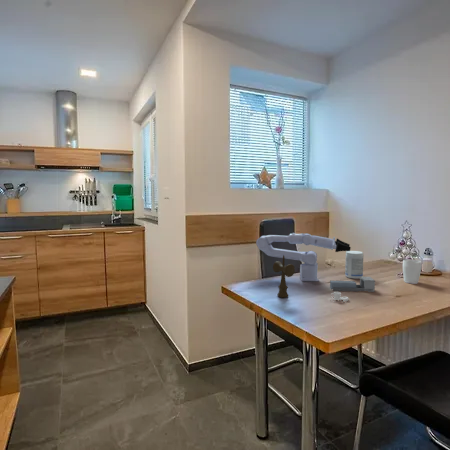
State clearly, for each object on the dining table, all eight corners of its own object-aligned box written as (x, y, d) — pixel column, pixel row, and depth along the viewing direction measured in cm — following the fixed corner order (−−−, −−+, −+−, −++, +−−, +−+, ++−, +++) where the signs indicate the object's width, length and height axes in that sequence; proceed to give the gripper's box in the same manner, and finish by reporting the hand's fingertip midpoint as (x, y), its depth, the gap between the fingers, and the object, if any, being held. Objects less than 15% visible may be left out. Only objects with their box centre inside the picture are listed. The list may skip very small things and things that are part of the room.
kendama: (285, 300, 144) (286, 257, 142) (271, 295, 152) (271, 254, 150) (294, 298, 147) (295, 256, 145) (280, 292, 155) (281, 252, 153)
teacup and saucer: (349, 300, 146) (350, 291, 145) (346, 305, 139) (346, 296, 139) (330, 297, 150) (330, 288, 150) (326, 302, 143) (326, 293, 143)
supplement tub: (365, 277, 184) (366, 252, 182) (358, 280, 177) (359, 254, 175) (349, 273, 191) (350, 249, 189) (341, 276, 184) (342, 252, 182)
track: (333, 290, 158) (333, 279, 158) (330, 286, 165) (330, 275, 165) (374, 291, 156) (375, 280, 156) (369, 287, 163) (369, 276, 163)
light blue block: (331, 290, 160) (331, 282, 160) (329, 287, 164) (330, 280, 163) (356, 290, 159) (356, 283, 158) (353, 288, 162) (354, 281, 162)
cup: (415, 280, 177) (416, 259, 176) (423, 284, 168) (425, 262, 167) (398, 279, 178) (399, 258, 177) (406, 284, 169) (407, 262, 168)
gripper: (325, 237, 167) (352, 243, 163) (325, 233, 180) (350, 238, 177) (322, 250, 168) (349, 256, 164) (322, 245, 182) (347, 250, 178)
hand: (349, 247), depth 170 cm, fingers open, 7 cm apart
